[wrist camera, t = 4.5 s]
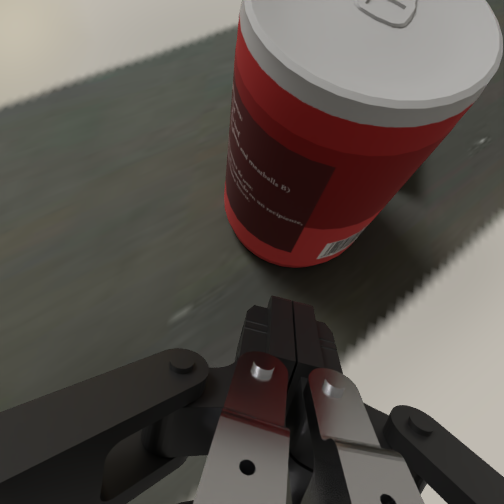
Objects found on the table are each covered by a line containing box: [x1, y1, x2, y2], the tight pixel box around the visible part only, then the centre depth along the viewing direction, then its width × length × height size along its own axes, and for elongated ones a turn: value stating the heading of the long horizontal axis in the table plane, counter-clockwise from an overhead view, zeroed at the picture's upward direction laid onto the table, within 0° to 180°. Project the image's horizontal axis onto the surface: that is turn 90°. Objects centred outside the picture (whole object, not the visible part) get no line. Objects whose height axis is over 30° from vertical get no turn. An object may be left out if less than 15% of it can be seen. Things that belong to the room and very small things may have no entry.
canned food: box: [224, 0, 503, 268], centre depth 15 cm, size 8×8×11 cm
